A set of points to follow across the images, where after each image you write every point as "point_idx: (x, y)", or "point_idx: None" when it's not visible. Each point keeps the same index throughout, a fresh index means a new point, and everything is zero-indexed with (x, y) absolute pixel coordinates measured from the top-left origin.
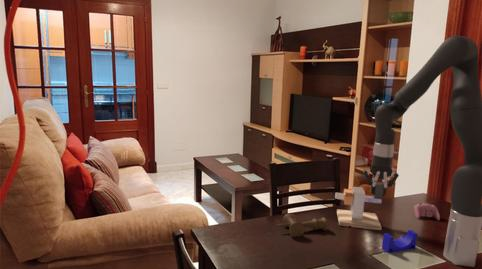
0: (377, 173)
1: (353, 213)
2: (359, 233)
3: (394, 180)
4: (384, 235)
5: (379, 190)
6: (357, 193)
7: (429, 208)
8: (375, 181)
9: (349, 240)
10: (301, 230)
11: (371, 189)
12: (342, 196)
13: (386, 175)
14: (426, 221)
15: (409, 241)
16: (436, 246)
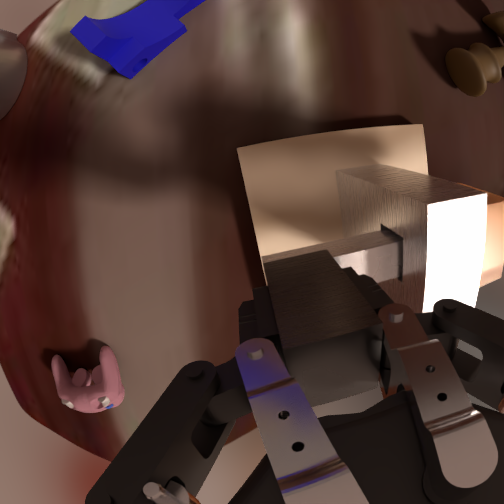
0: (475, 437)
1: (394, 168)
2: (332, 71)
3: (144, 436)
4: None
5: (311, 296)
6: (469, 194)
7: (74, 389)
8: (408, 346)
9: (360, 5)
10: (492, 13)
11: (383, 293)
12: None
13: (287, 485)
14: (81, 335)
15: (115, 20)
16: (34, 124)
